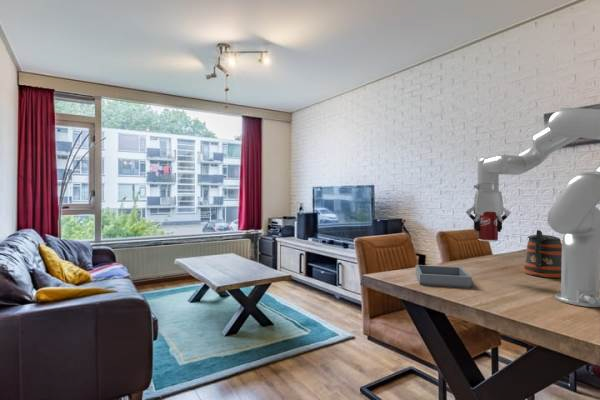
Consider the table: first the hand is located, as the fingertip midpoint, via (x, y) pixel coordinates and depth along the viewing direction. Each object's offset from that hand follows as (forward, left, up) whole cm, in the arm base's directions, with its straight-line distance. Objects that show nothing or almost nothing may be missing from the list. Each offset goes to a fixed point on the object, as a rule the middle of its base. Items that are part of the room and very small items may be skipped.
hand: (487, 231), depth 137 cm
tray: (-8, +19, -20) cm, 28 cm away
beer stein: (+13, -25, -20) cm, 35 cm away
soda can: (0, 0, -4) cm, 4 cm away
